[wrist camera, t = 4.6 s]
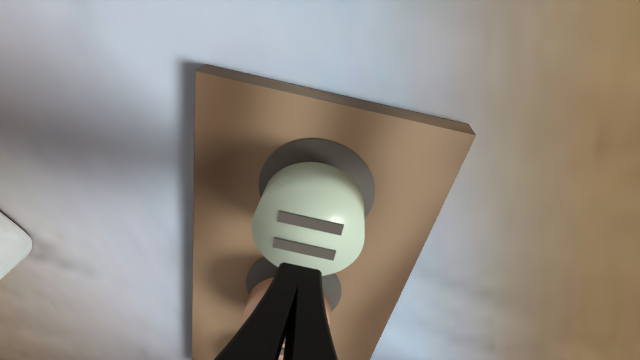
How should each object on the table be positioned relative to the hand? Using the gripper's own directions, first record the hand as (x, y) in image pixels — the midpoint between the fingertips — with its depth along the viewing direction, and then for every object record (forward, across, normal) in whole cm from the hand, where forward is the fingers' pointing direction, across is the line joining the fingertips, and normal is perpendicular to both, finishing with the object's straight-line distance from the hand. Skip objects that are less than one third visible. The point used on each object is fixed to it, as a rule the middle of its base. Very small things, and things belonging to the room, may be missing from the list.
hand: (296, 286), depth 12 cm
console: (+7, 0, +7) cm, 10 cm away
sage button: (+5, 0, 0) cm, 5 cm away
